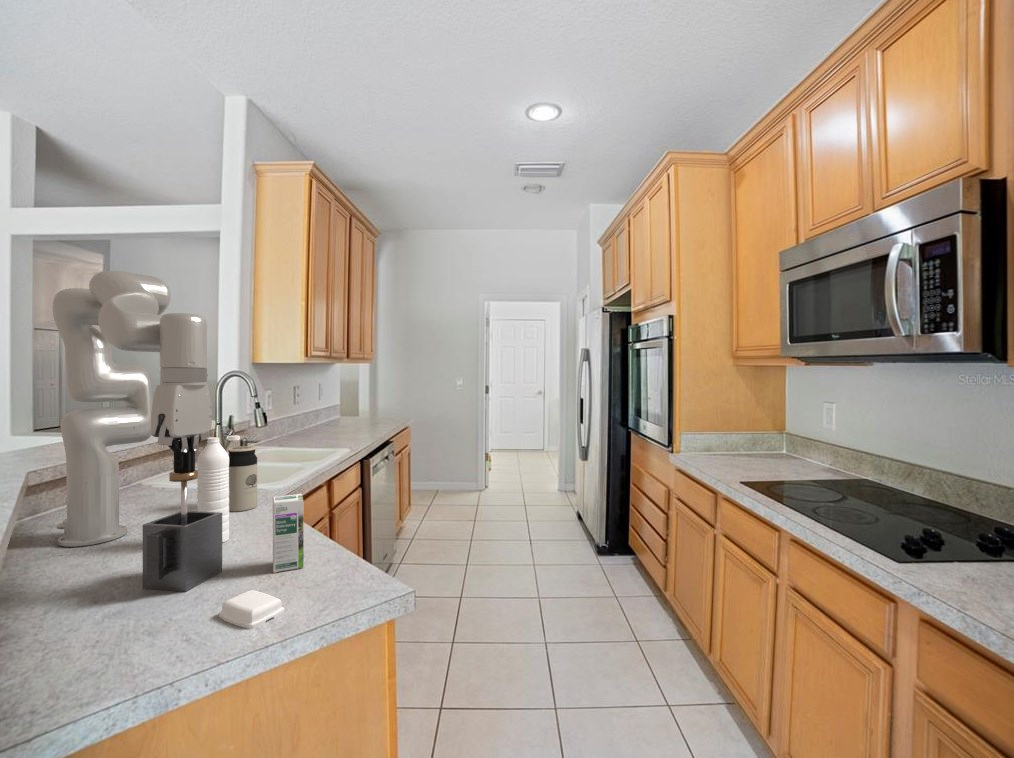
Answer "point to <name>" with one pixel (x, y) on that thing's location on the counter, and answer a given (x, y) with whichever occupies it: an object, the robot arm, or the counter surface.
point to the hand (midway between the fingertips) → (184, 471)
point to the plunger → (183, 490)
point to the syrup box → (288, 533)
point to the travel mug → (242, 478)
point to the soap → (251, 609)
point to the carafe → (182, 551)
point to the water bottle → (214, 481)
